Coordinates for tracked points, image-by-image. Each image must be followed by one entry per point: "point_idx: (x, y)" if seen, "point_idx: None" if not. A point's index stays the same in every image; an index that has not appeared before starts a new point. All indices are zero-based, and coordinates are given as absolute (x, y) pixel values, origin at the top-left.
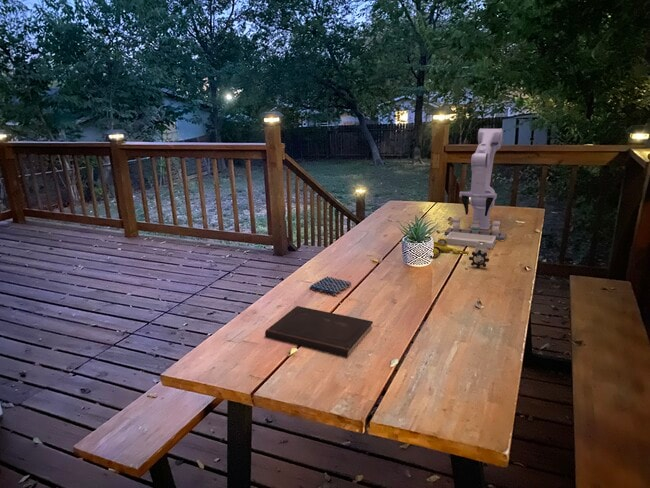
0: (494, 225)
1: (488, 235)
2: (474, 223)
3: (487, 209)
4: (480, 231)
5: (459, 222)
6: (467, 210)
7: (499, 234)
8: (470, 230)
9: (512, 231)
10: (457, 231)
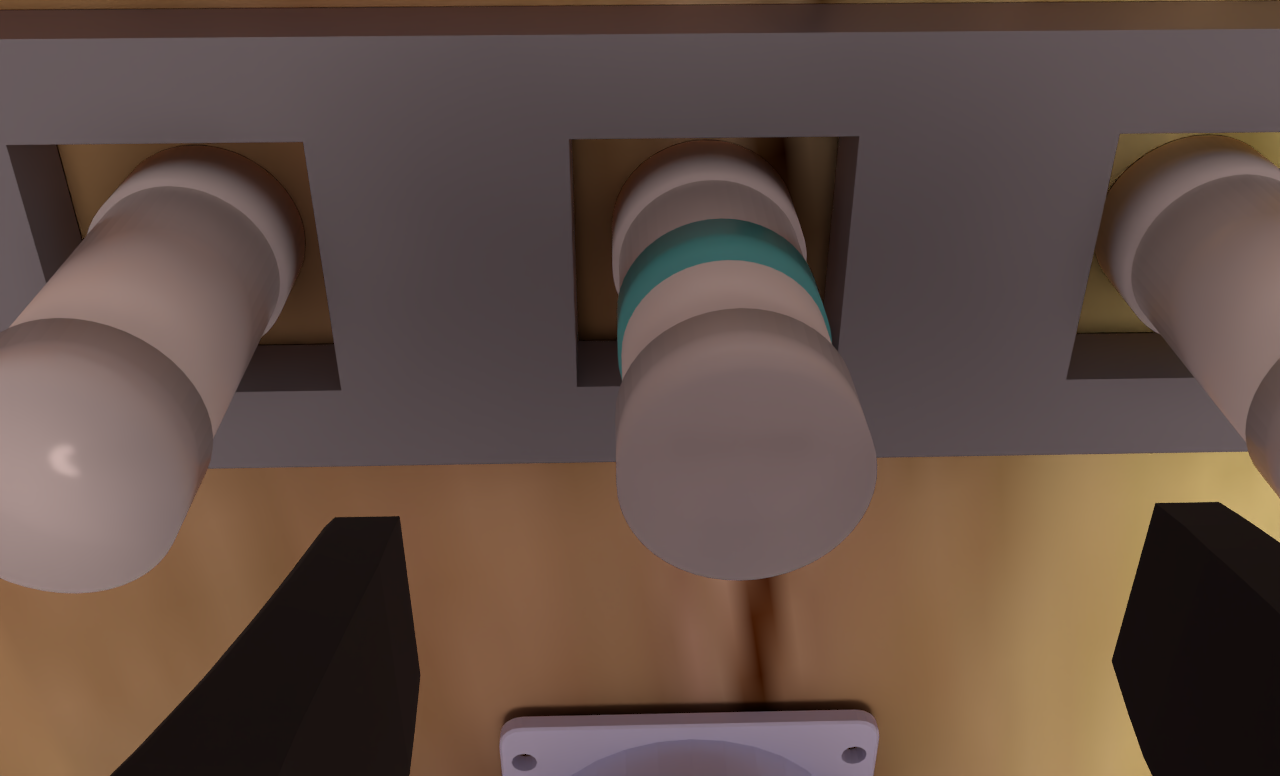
0: (87, 327)
1: (310, 115)
2: (769, 319)
3: (190, 720)
4: (594, 400)
5: (1260, 371)
6: (1234, 655)
7: None
8: None
9: (55, 771)
10: (1185, 198)
